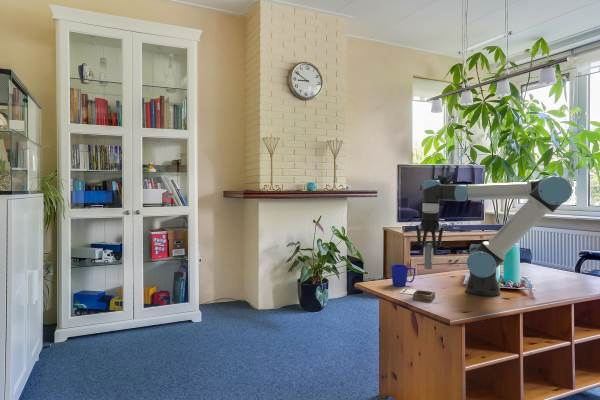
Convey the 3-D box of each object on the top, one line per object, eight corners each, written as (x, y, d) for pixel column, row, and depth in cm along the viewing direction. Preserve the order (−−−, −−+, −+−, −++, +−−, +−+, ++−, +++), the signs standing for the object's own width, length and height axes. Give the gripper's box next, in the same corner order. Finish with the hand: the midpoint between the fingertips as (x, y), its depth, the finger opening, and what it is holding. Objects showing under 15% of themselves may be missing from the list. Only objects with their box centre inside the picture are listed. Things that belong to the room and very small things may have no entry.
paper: (433, 292, 190) (433, 291, 190) (429, 296, 182) (429, 296, 182) (404, 289, 197) (404, 288, 197) (399, 293, 189) (399, 292, 189)
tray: (434, 297, 180) (435, 292, 180) (431, 302, 173) (431, 296, 173) (417, 295, 184) (417, 289, 184) (412, 299, 177) (413, 293, 177)
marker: (432, 268, 190) (433, 243, 189) (431, 269, 187) (432, 244, 186) (425, 267, 191) (426, 242, 191) (423, 268, 188) (424, 243, 188)
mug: (415, 287, 199) (416, 268, 199) (391, 286, 202) (391, 267, 202) (414, 284, 207) (414, 265, 207) (390, 283, 210) (391, 264, 210)
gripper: (449, 212, 188) (447, 262, 188) (415, 211, 195) (413, 258, 196) (446, 213, 181) (444, 264, 182) (411, 211, 189) (409, 260, 190)
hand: (428, 261), depth 189 cm, fingers closed on marker, 3 cm apart
